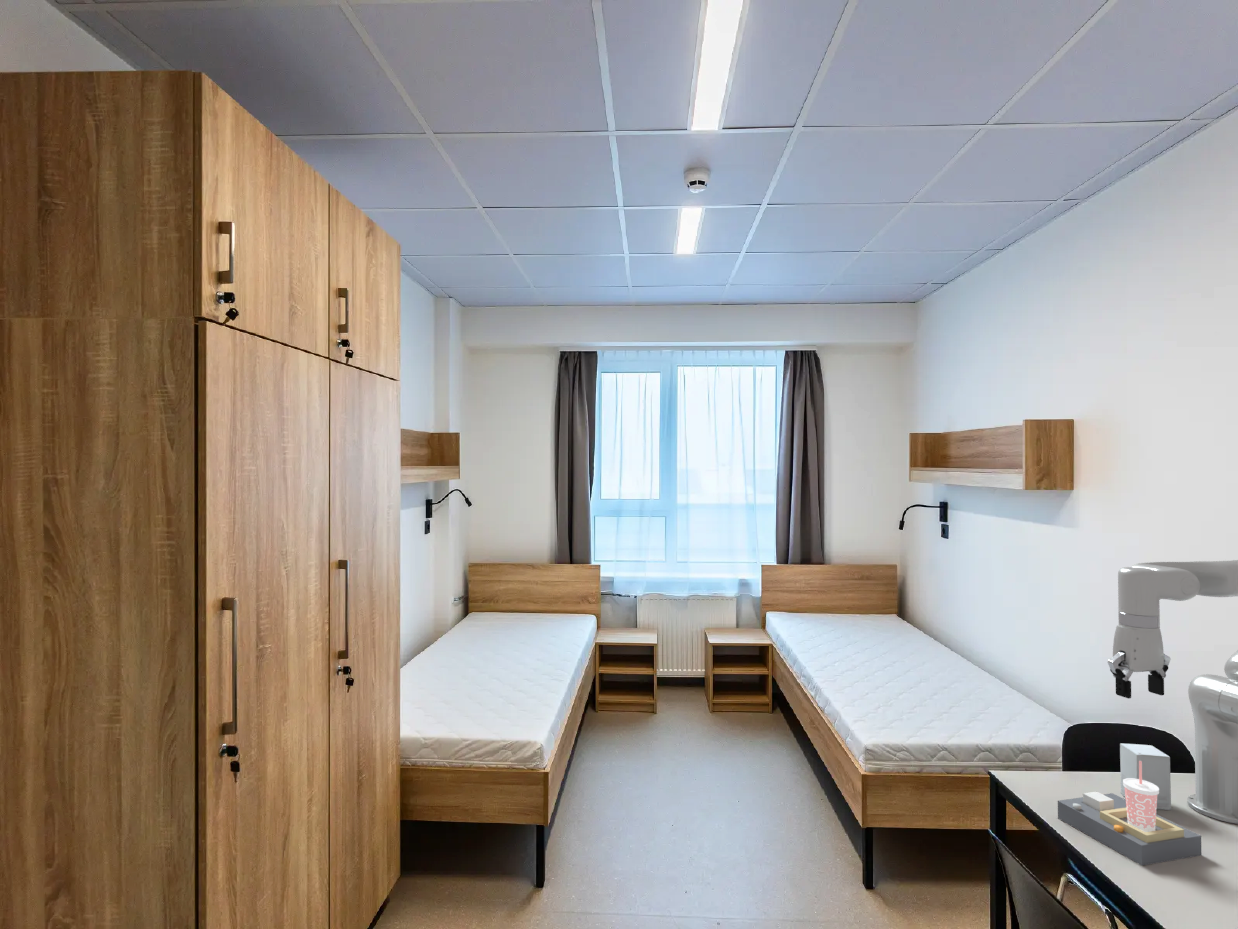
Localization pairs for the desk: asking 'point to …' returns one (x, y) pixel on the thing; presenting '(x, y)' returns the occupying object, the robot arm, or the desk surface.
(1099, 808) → the block
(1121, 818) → the gray panel board
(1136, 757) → the supplement box
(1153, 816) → the beverage cup
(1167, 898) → the desk surface
